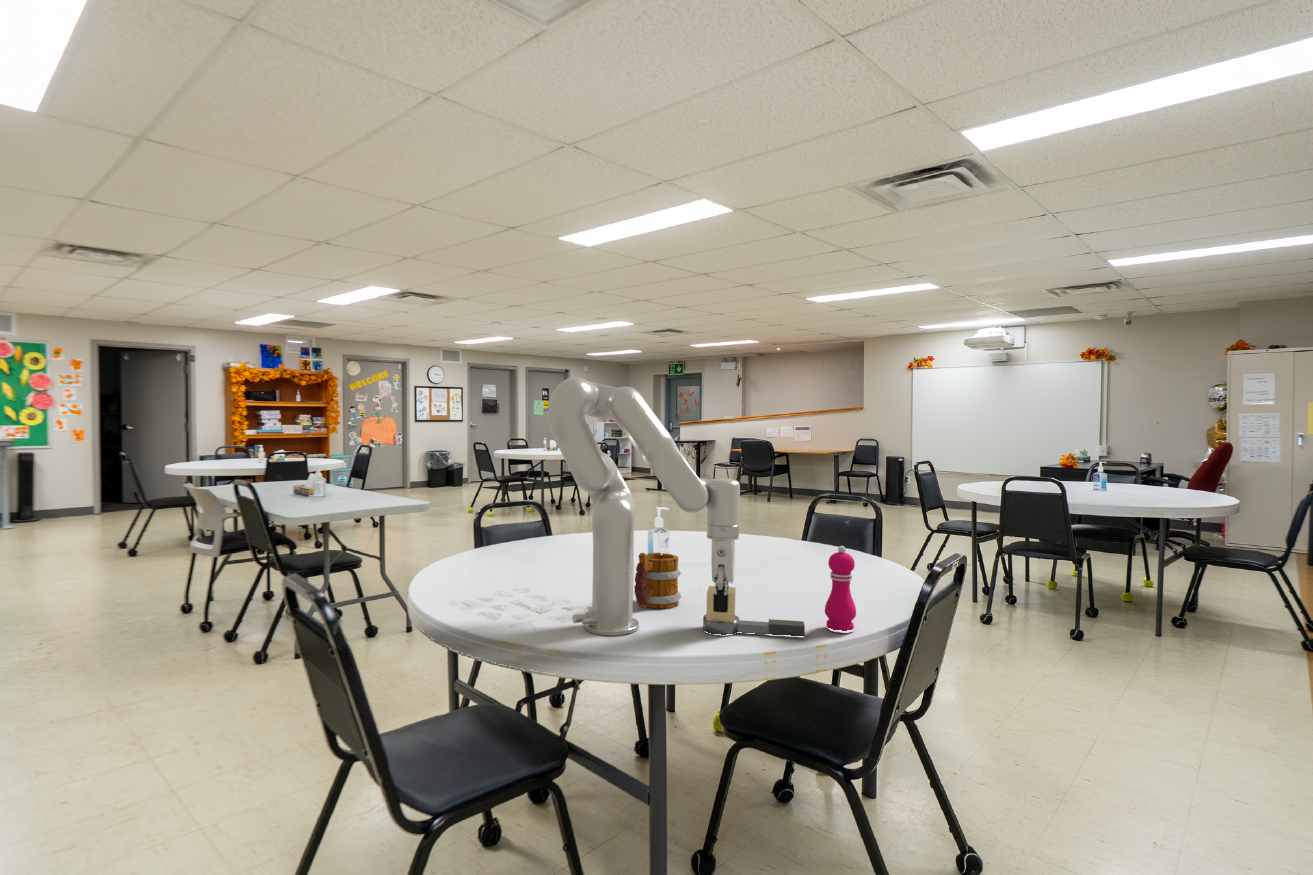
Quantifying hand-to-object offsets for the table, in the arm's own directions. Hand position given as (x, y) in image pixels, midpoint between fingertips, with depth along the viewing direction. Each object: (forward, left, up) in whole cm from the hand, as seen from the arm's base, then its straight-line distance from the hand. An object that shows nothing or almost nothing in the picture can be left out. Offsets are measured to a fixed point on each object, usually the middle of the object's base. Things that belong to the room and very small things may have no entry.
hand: (721, 606), depth 151 cm
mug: (-4, +25, -6) cm, 26 cm away
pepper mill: (+26, -12, -6) cm, 29 cm away
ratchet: (+6, -5, -6) cm, 9 cm away
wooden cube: (0, 0, -3) cm, 3 cm away
